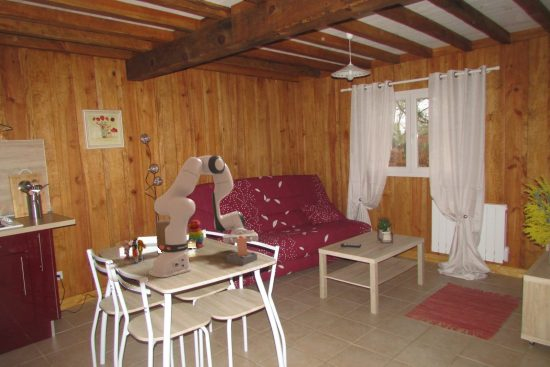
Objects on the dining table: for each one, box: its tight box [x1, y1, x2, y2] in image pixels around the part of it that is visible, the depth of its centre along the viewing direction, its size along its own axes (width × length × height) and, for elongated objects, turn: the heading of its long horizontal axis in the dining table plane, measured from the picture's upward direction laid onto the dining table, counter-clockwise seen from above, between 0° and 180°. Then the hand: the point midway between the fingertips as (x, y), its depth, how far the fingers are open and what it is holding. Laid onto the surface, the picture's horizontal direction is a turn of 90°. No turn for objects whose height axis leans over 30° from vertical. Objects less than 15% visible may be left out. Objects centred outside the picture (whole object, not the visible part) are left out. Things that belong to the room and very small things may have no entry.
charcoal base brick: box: [226, 251, 258, 266], centre depth 222 cm, size 12×12×5 cm
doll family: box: [121, 236, 147, 265], centre depth 230 cm, size 21×10×13 cm, turn 42°
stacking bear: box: [188, 219, 204, 249], centre depth 256 cm, size 11×10×18 cm
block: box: [155, 218, 171, 252], centre depth 245 cm, size 10×10×20 cm
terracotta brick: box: [236, 236, 248, 256], centre depth 221 cm, size 5×5×11 cm
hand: (241, 241), depth 222 cm, fingers open, 8 cm apart
